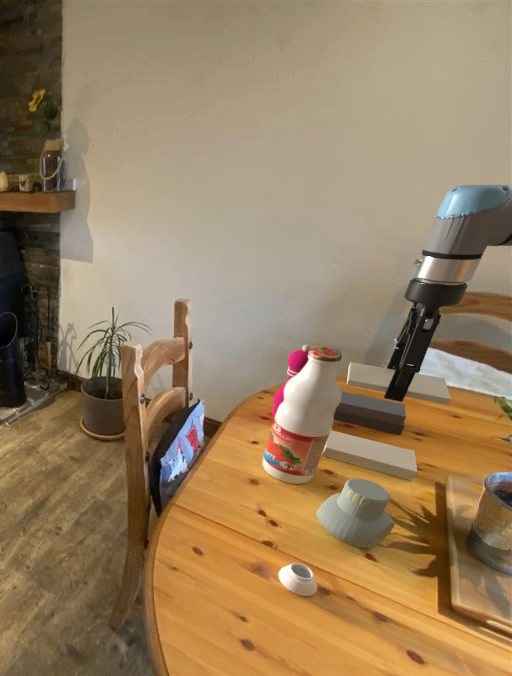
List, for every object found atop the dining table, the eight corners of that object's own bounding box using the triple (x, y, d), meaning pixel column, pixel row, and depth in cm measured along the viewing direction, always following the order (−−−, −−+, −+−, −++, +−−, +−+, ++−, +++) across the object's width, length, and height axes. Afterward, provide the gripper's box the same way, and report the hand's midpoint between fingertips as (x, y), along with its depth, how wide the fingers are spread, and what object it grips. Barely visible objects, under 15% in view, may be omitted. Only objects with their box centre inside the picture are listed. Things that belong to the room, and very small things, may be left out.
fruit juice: (322, 486, 84) (371, 362, 71) (271, 484, 86) (310, 361, 73) (299, 457, 93) (340, 341, 80) (254, 455, 94) (286, 341, 81)
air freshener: (357, 561, 69) (379, 517, 64) (305, 528, 75) (322, 486, 71) (392, 535, 73) (415, 492, 68) (340, 506, 80) (357, 464, 75)
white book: (442, 383, 84) (444, 378, 83) (448, 404, 77) (451, 399, 76) (348, 366, 92) (350, 362, 92) (346, 384, 85) (348, 379, 85)
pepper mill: (300, 411, 109) (323, 340, 99) (304, 426, 103) (329, 352, 94) (268, 407, 112) (287, 337, 102) (271, 420, 106) (291, 348, 97)
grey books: (399, 421, 102) (407, 404, 100) (400, 435, 98) (409, 417, 95) (333, 406, 110) (339, 390, 108) (331, 419, 105) (338, 402, 103)
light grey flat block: (410, 459, 90) (414, 450, 89) (412, 481, 84) (417, 471, 83) (324, 437, 99) (327, 429, 97) (321, 455, 93) (324, 447, 92)
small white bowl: (278, 589, 65) (317, 602, 63) (283, 577, 64) (323, 590, 62) (277, 565, 69) (314, 576, 67) (282, 553, 68) (319, 564, 65)
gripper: (408, 265, 84) (369, 364, 95) (415, 292, 69) (367, 407, 79) (460, 268, 80) (413, 371, 90) (480, 298, 65) (421, 418, 75)
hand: (392, 388), depth 85 cm, fingers closed on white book, 10 cm apart
